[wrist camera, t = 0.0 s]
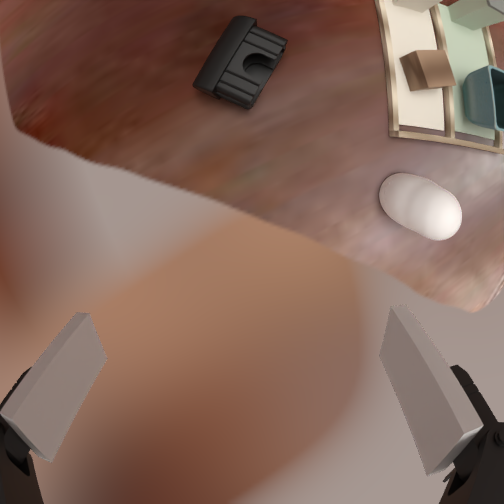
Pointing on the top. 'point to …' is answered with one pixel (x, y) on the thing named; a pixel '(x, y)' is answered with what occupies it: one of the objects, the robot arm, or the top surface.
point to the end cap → (240, 62)
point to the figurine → (421, 205)
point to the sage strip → (468, 49)
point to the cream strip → (404, 42)
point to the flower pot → (485, 97)
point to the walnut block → (427, 70)
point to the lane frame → (447, 91)
